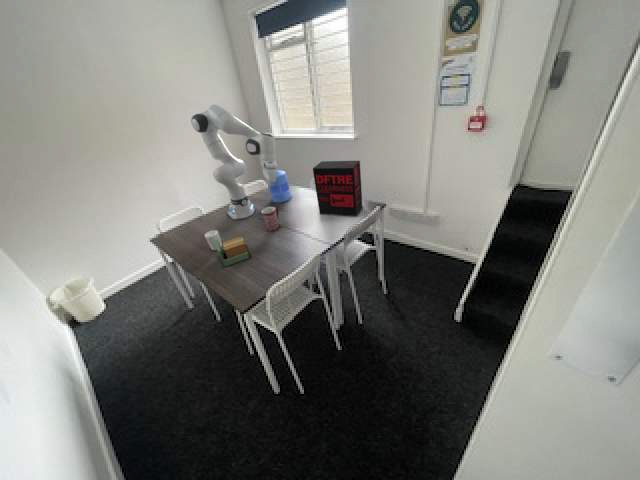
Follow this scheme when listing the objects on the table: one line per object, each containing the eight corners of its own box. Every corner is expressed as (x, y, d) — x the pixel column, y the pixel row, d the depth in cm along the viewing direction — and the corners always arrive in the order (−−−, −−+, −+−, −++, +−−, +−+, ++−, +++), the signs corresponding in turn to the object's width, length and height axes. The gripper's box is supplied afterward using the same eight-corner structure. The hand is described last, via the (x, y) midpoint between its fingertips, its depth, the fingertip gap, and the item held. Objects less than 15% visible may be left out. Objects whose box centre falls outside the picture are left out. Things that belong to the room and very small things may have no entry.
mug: (274, 232, 167) (269, 214, 159) (263, 230, 171) (258, 212, 164) (286, 223, 175) (281, 205, 168) (275, 221, 180) (271, 203, 173)
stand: (245, 246, 158) (240, 231, 152) (249, 257, 146) (244, 243, 141) (221, 254, 154) (215, 239, 148) (224, 266, 142) (217, 251, 137)
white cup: (212, 244, 164) (206, 231, 159) (224, 242, 164) (219, 229, 159) (209, 251, 158) (202, 238, 152) (221, 249, 158) (216, 235, 152)
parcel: (245, 248, 155) (241, 236, 151) (248, 255, 148) (244, 243, 143) (227, 254, 152) (222, 242, 147) (229, 262, 145) (224, 249, 140)
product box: (319, 213, 180) (312, 168, 164) (327, 204, 191) (321, 161, 174) (356, 216, 170) (353, 168, 153) (362, 206, 181) (359, 160, 164)
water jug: (271, 197, 218) (263, 164, 203) (289, 193, 220) (282, 160, 205) (273, 204, 205) (264, 169, 190) (292, 200, 207) (285, 165, 192)
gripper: (259, 159, 159) (261, 181, 165) (266, 166, 142) (268, 191, 149) (270, 159, 161) (271, 181, 168) (277, 166, 144) (278, 190, 151)
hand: (269, 185), depth 158 cm, fingers closed
